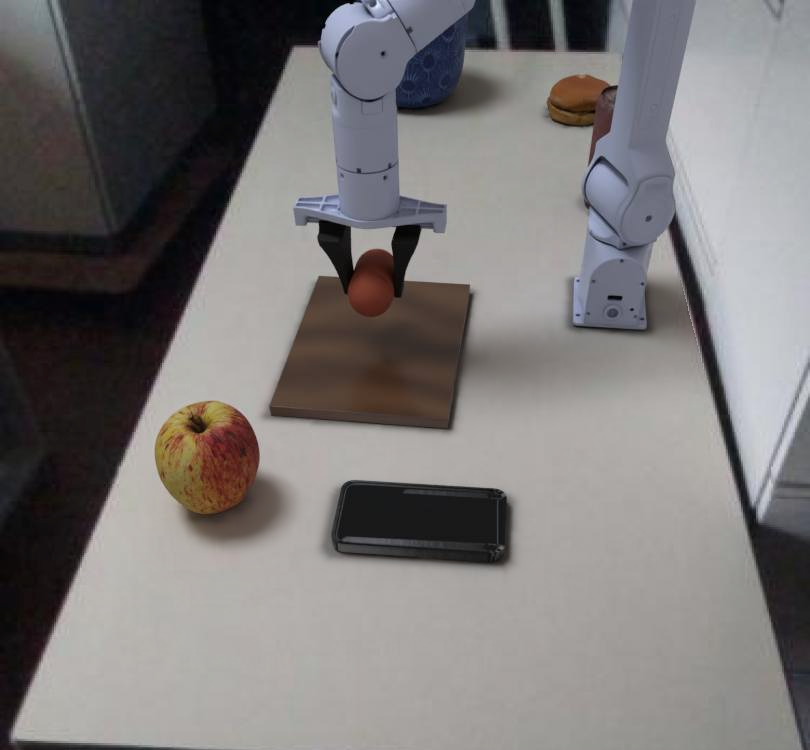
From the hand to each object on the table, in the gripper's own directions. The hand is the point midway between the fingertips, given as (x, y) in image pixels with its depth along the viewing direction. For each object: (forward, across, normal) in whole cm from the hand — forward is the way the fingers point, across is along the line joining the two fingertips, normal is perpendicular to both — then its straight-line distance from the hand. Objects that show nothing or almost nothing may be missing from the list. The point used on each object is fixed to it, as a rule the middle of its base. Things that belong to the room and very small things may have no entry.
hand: (374, 290), depth 88 cm
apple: (+8, +11, +24) cm, 28 cm away
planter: (+7, +5, -67) cm, 68 cm away
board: (+7, 0, 0) cm, 7 cm away
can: (+7, -25, -35) cm, 44 cm away
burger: (+7, -21, -63) cm, 67 cm away
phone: (+7, -8, +25) cm, 27 cm away
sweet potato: (+1, 0, 0) cm, 1 cm away
